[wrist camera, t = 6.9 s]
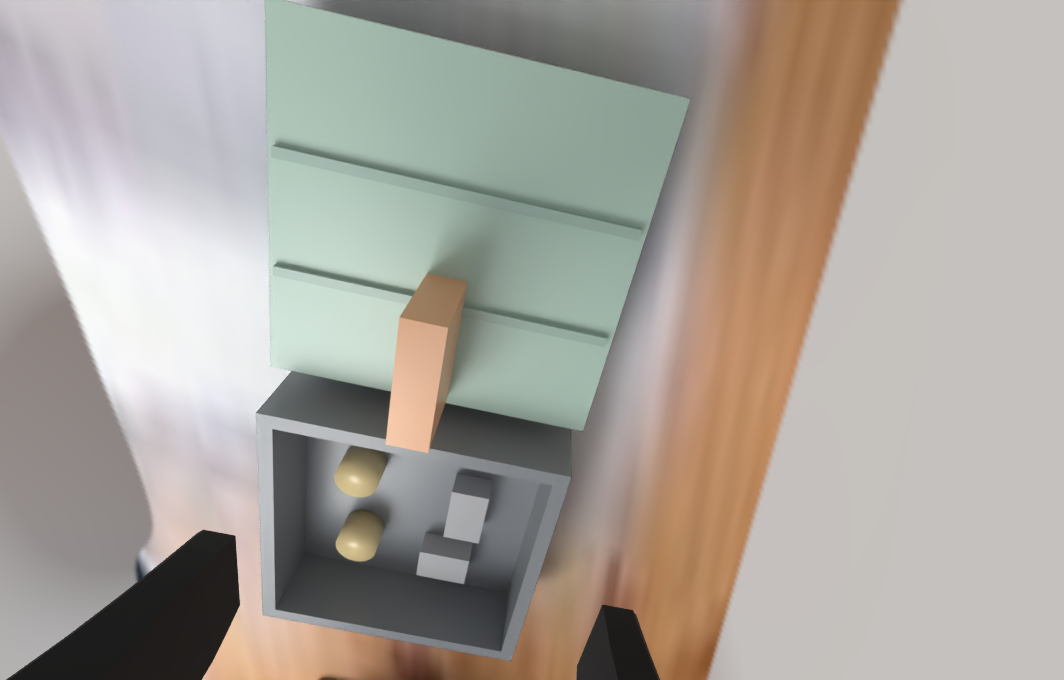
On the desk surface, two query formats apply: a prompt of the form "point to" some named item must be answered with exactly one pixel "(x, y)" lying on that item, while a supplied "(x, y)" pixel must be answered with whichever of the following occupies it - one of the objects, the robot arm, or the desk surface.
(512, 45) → the desk surface
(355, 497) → the tub
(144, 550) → the desk surface
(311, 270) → the lid
